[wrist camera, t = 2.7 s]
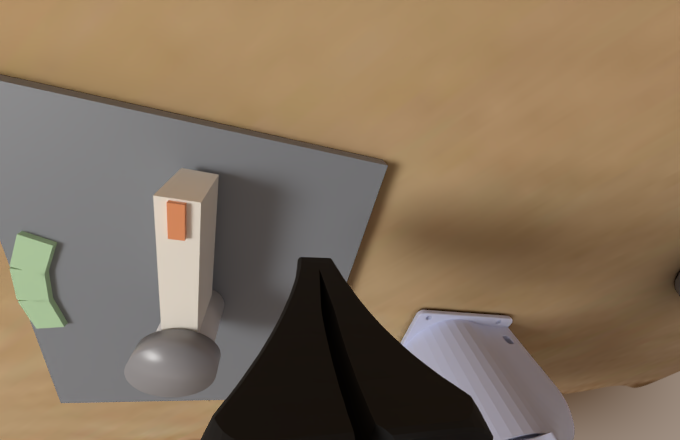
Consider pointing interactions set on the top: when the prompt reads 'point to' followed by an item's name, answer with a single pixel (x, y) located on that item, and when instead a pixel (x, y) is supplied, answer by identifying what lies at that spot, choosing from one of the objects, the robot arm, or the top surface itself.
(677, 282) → the cup
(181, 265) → the peg key
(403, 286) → the top surface
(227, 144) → the dial board
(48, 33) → the top surface
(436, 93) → the top surface
